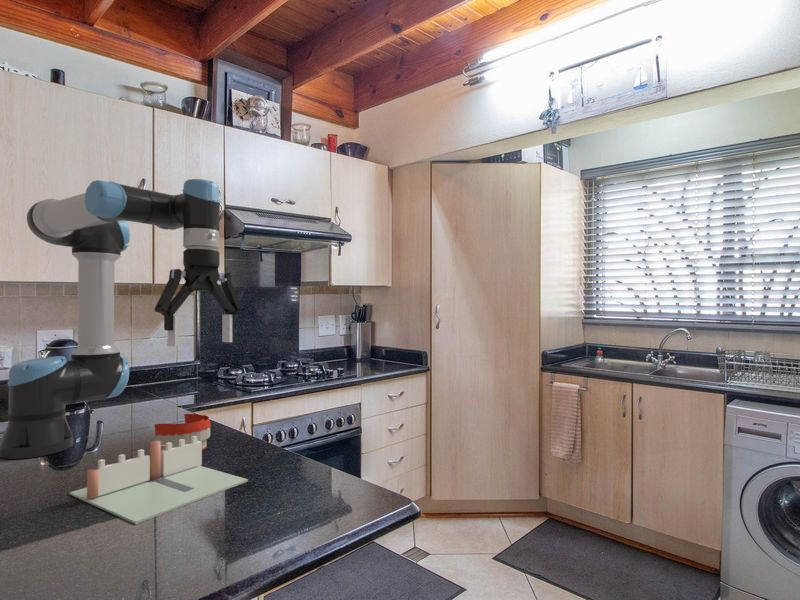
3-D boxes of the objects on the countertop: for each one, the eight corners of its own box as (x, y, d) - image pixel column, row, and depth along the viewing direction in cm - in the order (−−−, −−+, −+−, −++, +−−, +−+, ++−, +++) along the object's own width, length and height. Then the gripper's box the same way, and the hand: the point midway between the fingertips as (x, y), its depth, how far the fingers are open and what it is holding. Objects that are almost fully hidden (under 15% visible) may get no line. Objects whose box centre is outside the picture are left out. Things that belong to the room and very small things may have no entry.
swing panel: (145, 478, 98) (145, 447, 98) (150, 480, 97) (150, 449, 97) (85, 497, 88) (85, 462, 88) (89, 499, 87) (90, 464, 87)
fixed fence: (147, 481, 98) (148, 442, 98) (197, 465, 108) (197, 430, 108) (153, 483, 97) (153, 444, 97) (202, 467, 107) (202, 431, 107)
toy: (190, 460, 112) (190, 426, 112) (152, 458, 114) (152, 424, 114) (220, 445, 124) (221, 415, 124) (186, 443, 126) (186, 413, 126)
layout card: (69, 494, 91) (69, 491, 91) (180, 461, 111) (180, 459, 111) (135, 524, 78) (135, 521, 78) (247, 481, 98) (248, 479, 98)
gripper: (156, 242, 94) (156, 348, 93) (257, 253, 115) (257, 341, 114) (136, 244, 98) (136, 347, 97) (236, 255, 119) (236, 340, 118)
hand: (201, 344), depth 106 cm, fingers open, 13 cm apart
